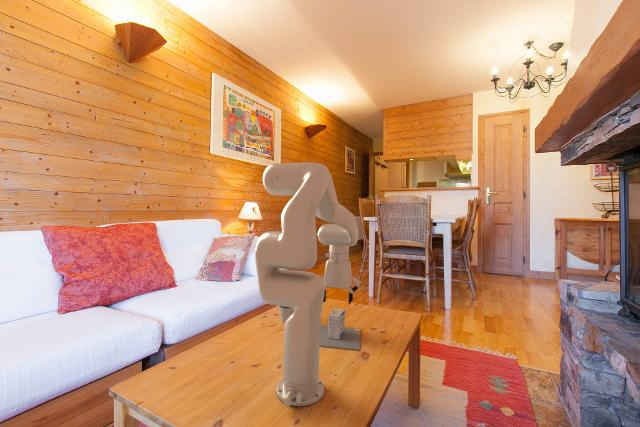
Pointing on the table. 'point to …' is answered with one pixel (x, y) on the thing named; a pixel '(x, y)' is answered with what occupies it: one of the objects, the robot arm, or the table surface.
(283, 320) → the house plant
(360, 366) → the table surface
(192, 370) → the table surface
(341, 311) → the medicine box
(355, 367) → the table surface
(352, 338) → the mat
